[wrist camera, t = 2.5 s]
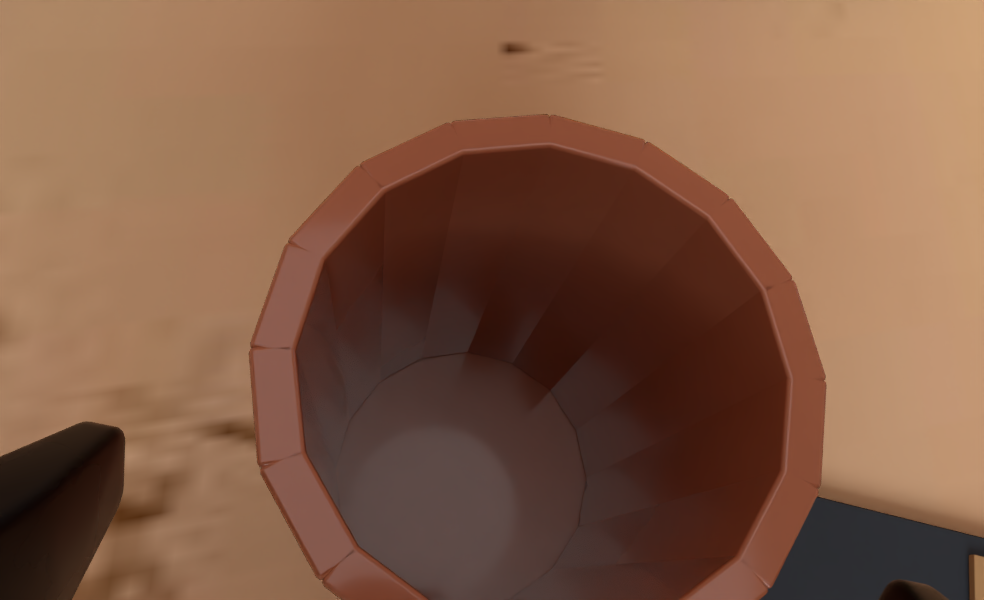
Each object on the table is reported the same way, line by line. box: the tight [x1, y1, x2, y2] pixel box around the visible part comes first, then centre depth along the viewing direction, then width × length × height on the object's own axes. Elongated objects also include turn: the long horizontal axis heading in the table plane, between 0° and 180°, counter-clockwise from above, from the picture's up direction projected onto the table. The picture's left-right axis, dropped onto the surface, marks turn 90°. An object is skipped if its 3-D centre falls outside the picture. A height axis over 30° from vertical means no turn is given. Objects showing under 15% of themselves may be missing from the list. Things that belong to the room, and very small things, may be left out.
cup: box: [249, 114, 826, 600], centre depth 13 cm, size 7×7×10 cm
